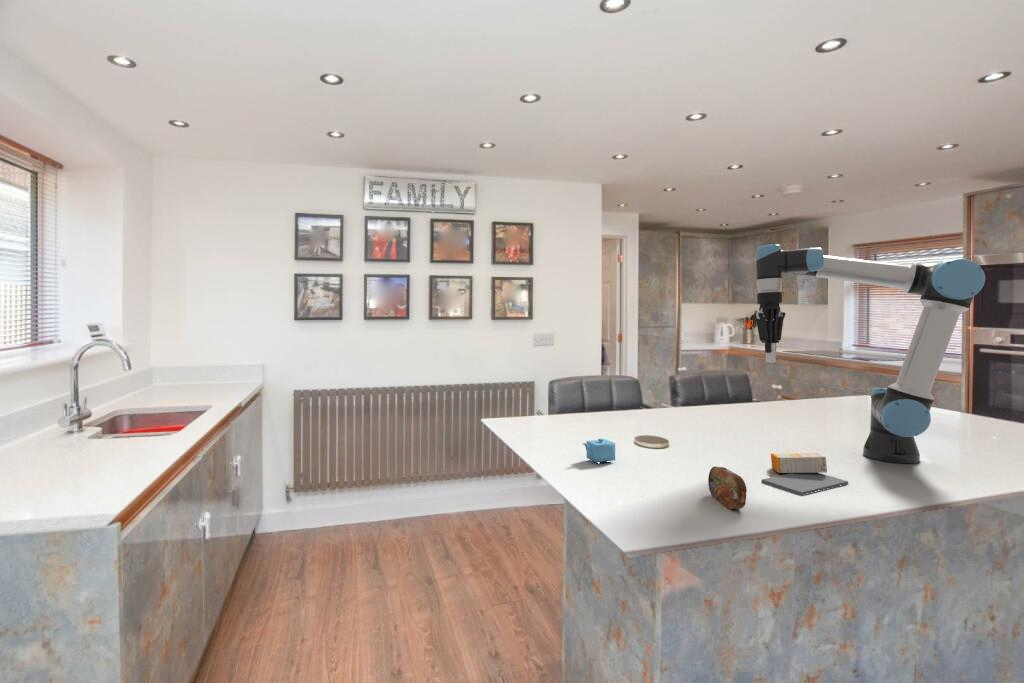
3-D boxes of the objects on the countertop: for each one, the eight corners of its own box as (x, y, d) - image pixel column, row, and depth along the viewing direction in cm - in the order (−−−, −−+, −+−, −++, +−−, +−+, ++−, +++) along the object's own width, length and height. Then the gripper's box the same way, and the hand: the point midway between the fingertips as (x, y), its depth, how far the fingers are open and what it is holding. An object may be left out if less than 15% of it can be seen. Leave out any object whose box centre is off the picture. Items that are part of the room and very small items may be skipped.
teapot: (586, 466, 163) (586, 443, 162) (577, 461, 169) (577, 438, 168) (619, 462, 167) (619, 439, 167) (609, 457, 173) (609, 435, 172)
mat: (807, 472, 156) (807, 469, 155) (848, 484, 145) (848, 481, 145) (761, 482, 147) (761, 479, 147) (801, 495, 136) (801, 492, 136)
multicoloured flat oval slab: (706, 493, 138) (707, 462, 138) (718, 493, 138) (718, 461, 138) (735, 515, 123) (736, 480, 123) (748, 514, 123) (749, 479, 123)
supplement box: (778, 473, 152) (827, 473, 149) (776, 457, 153) (826, 456, 149) (771, 468, 160) (818, 468, 157) (770, 452, 161) (817, 452, 157)
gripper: (772, 292, 179) (773, 360, 180) (746, 292, 173) (747, 363, 174) (792, 291, 173) (793, 361, 173) (766, 291, 167) (767, 364, 167)
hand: (770, 362), depth 174 cm, fingers closed
